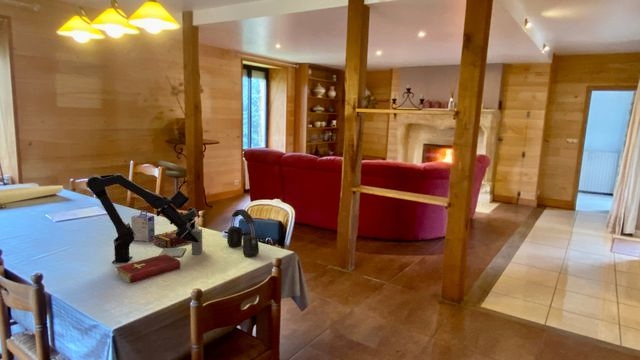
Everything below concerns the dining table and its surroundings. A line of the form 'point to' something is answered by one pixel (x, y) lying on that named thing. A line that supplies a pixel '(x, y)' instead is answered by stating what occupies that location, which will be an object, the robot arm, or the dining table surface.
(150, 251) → the dining table surface
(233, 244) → the headphones
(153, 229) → the ink cartridge box
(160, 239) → the decorative book
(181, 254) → the plate
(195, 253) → the grey tall piece
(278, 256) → the dining table surface
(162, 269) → the hardcover book
